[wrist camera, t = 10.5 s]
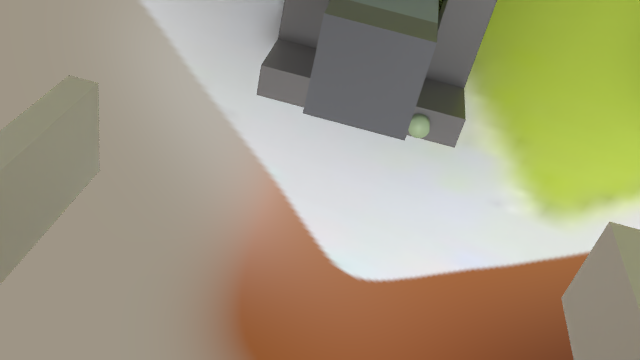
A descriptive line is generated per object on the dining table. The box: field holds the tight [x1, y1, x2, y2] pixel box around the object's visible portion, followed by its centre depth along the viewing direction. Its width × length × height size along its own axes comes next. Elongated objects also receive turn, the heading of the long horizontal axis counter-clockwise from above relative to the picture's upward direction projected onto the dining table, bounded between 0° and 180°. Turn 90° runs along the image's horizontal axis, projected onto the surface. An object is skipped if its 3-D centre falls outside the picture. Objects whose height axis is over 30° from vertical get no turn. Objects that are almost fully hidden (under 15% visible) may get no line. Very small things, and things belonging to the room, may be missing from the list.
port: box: [257, 0, 497, 147], centre depth 29 cm, size 10×10×7 cm
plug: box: [303, 0, 439, 140], centre depth 27 cm, size 4×4×12 cm
